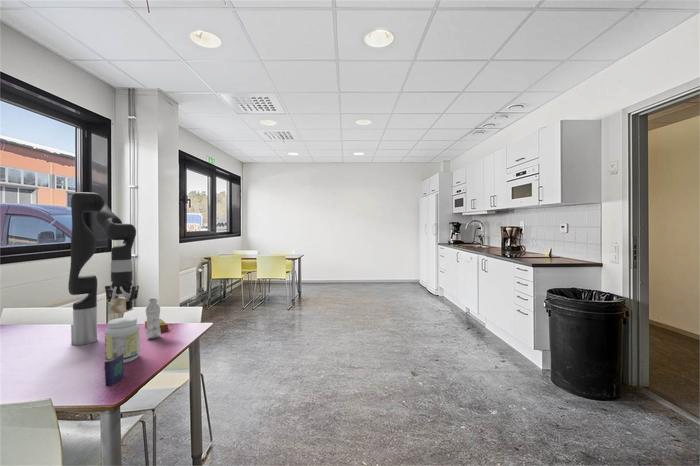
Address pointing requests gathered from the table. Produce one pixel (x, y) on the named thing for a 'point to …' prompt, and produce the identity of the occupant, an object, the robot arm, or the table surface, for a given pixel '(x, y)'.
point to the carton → (162, 325)
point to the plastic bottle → (153, 319)
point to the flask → (114, 369)
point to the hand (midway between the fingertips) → (122, 309)
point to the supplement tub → (122, 338)
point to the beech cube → (119, 305)
